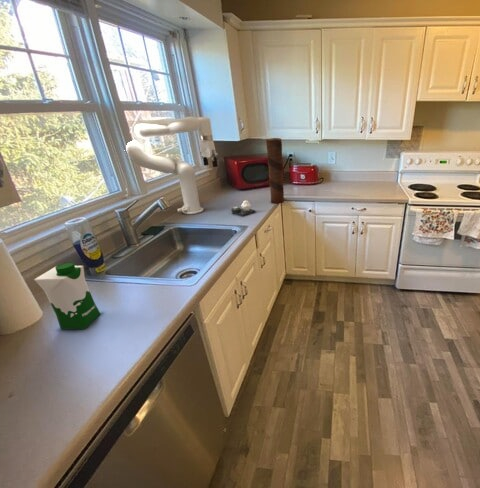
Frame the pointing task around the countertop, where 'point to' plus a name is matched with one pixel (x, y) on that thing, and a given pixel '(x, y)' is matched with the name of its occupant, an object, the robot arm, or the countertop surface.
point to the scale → (242, 212)
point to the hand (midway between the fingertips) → (210, 166)
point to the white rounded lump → (246, 205)
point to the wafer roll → (275, 169)
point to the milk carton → (69, 296)
